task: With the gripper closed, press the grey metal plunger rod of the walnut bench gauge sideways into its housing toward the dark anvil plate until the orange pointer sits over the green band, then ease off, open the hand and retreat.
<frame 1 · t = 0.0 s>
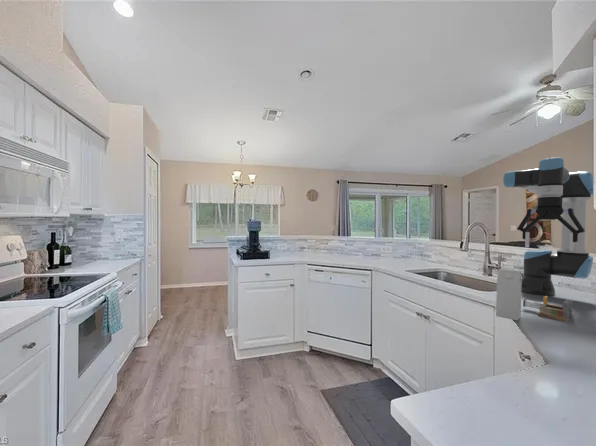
hand: (548, 248, 113), 28 cm above the countertop, tool pointing down, fingers open, 13 cm apart
plunger: (535, 301, 120), point 4 cm above the countertop, slide at 0.0 cm
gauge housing: (554, 315, 115), on the countertop
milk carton: (508, 317, 113), on the countertop
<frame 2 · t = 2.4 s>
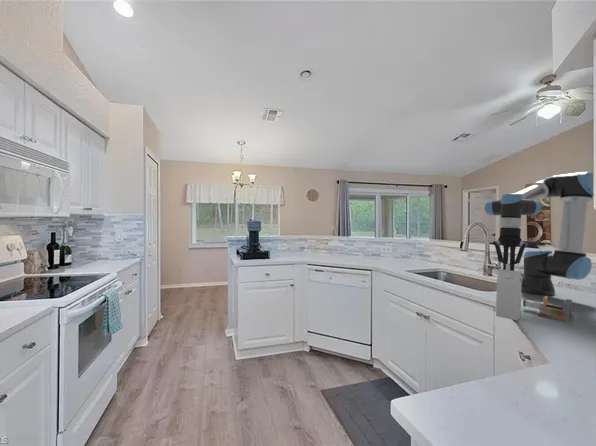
hand: (508, 278, 127), 13 cm above the countertop, tool pointing down, fingers closed
nothing on the countertop moved.
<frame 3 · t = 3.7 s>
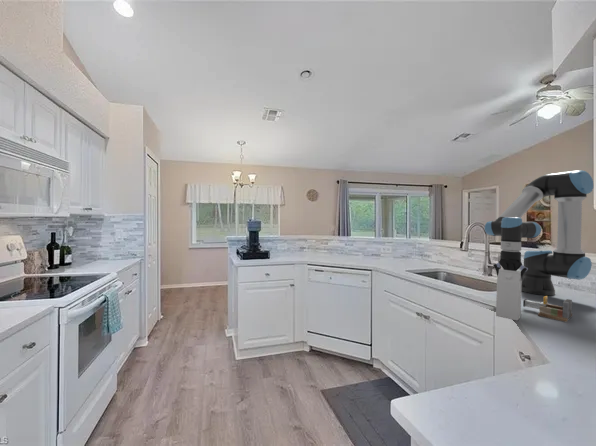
hand: (509, 301, 127), 2 cm above the countertop, tool pointing down, fingers closed
nothing on the countertop moved.
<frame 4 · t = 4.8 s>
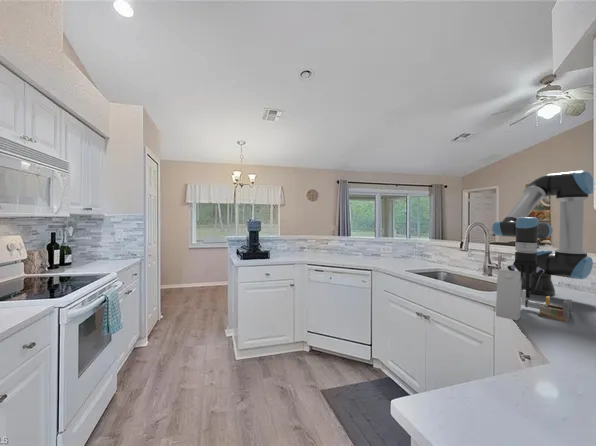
hand: (524, 304, 123), 2 cm above the countertop, tool pointing down, fingers closed
plunger: (537, 301, 119), point 4 cm above the countertop, slide at 0.7 cm, touching gripper
everything else where it was.
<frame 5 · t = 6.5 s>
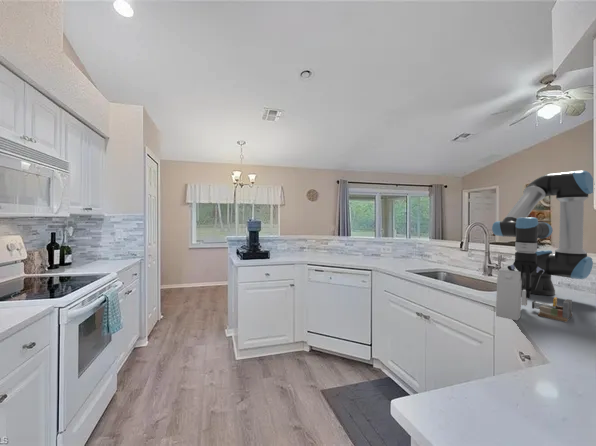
hand: (524, 304, 123), 2 cm above the countertop, tool pointing down, fingers closed
plunger: (544, 303, 117), point 4 cm above the countertop, slide at 3.1 cm
everything else where it was.
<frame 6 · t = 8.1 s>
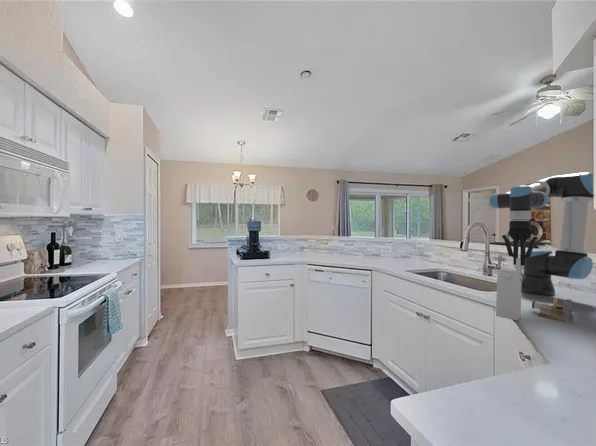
hand: (518, 272, 125), 16 cm above the countertop, tool pointing down, fingers closed
nothing on the countertop moved.
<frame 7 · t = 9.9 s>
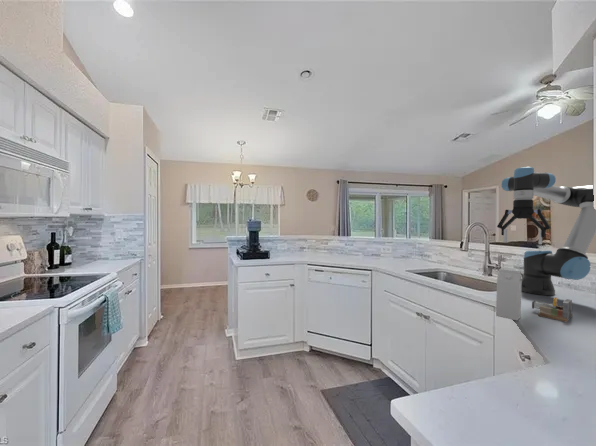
hand: (522, 243, 135), 28 cm above the countertop, tool pointing down, fingers open, 13 cm apart
nothing on the countertop moved.
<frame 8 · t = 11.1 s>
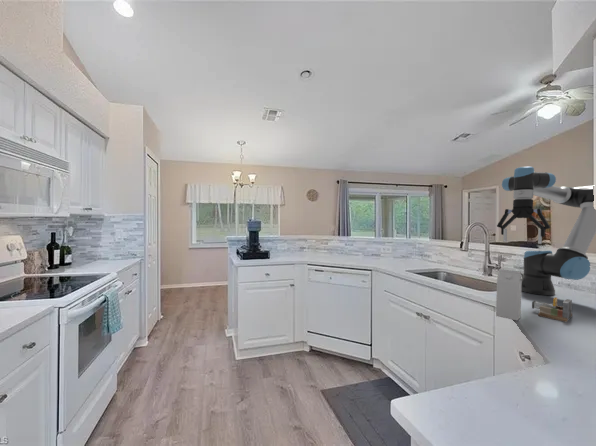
hand: (521, 242, 135), 29 cm above the countertop, tool pointing down, fingers open, 13 cm apart
nothing on the countertop moved.
at the end: plunger slide at 3.1 cm; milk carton moved 0.2 cm from its start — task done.
